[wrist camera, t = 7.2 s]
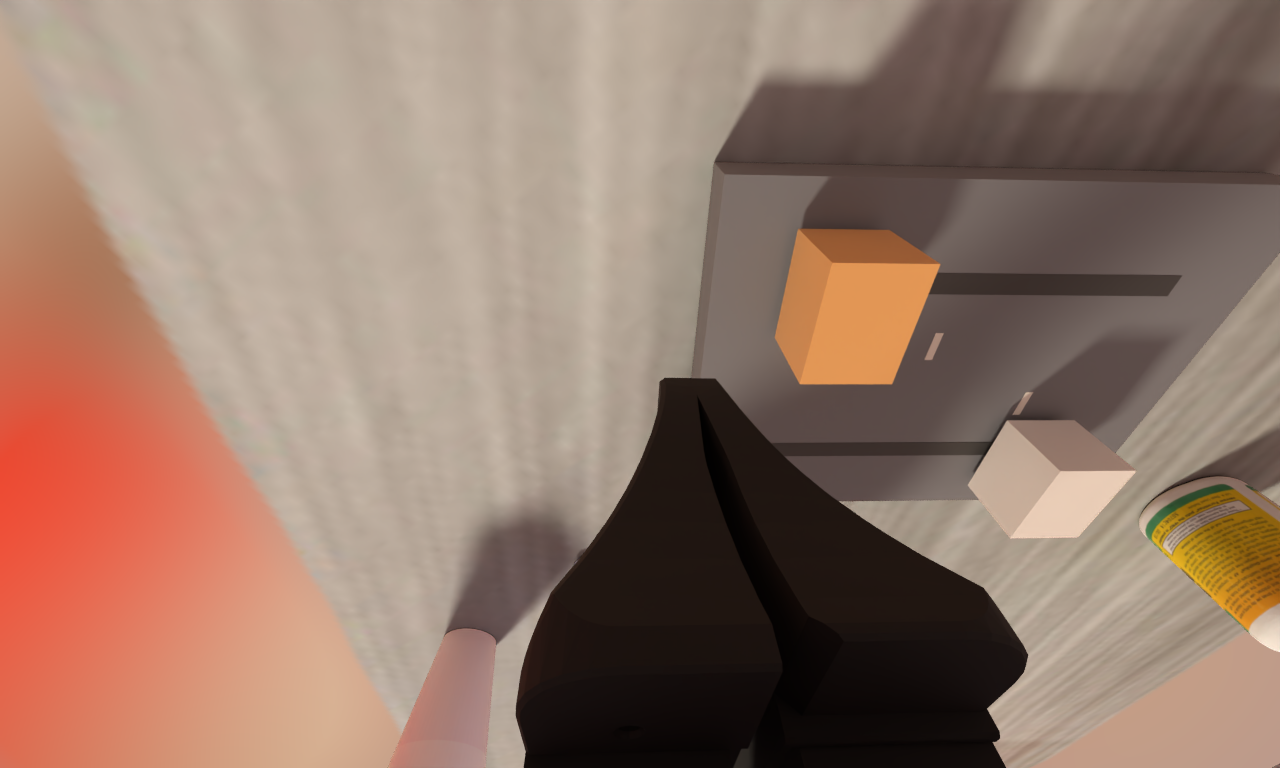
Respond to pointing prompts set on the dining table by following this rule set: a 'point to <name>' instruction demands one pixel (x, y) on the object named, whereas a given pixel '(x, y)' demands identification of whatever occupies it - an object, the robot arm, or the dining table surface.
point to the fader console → (979, 306)
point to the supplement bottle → (1224, 547)
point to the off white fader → (1047, 478)
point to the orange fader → (851, 305)
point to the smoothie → (452, 706)
